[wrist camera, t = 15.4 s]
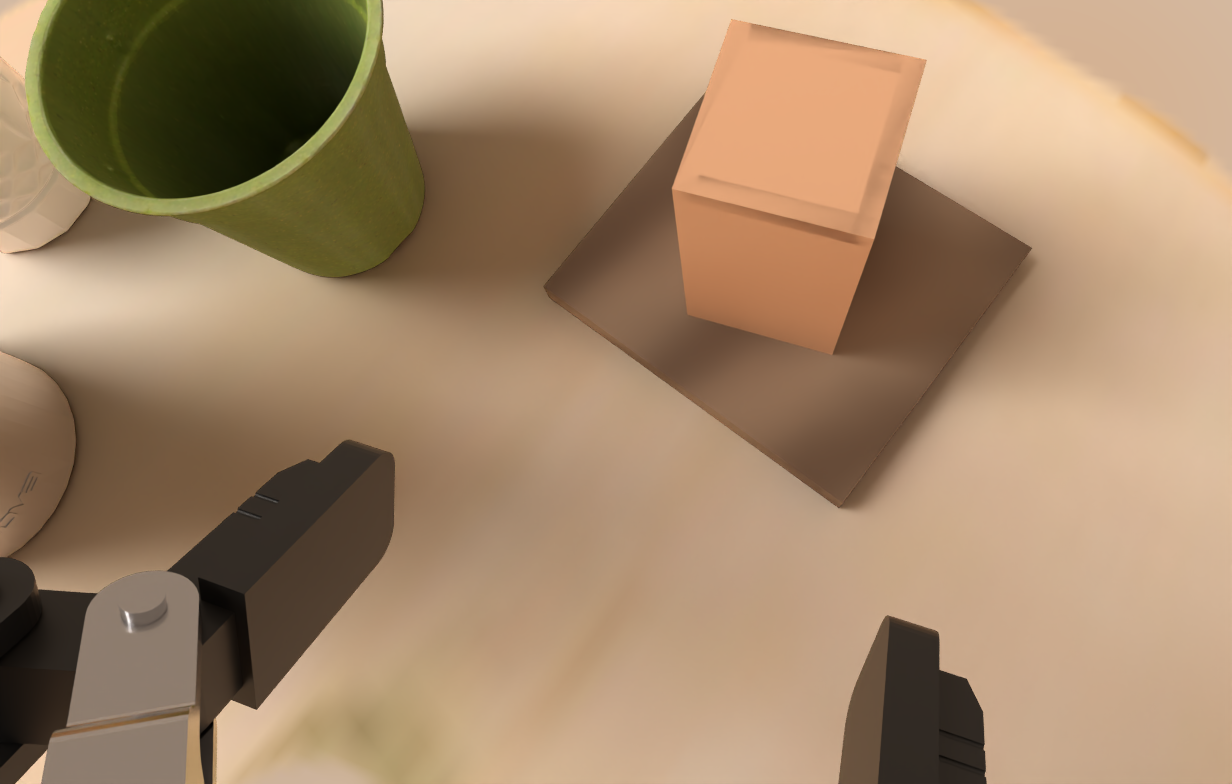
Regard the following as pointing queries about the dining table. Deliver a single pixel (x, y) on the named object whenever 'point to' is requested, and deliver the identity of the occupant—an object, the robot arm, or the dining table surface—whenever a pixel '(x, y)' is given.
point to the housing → (789, 180)
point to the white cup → (29, 177)
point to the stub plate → (783, 372)
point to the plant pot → (233, 121)
